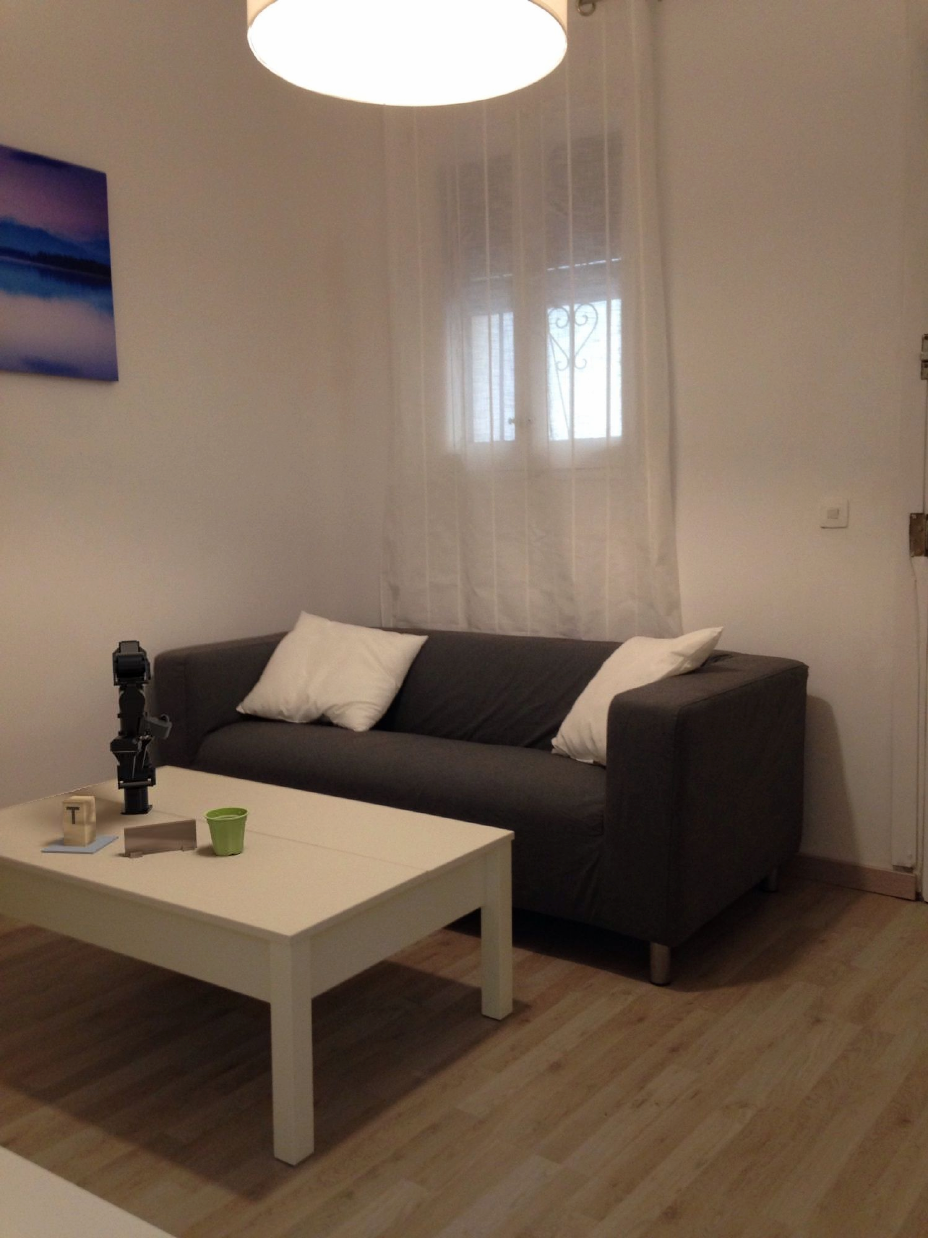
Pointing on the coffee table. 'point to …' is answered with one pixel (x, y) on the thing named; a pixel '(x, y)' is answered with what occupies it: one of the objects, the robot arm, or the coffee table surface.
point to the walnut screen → (160, 838)
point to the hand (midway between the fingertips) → (135, 774)
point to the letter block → (79, 821)
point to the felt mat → (90, 849)
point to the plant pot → (227, 829)
